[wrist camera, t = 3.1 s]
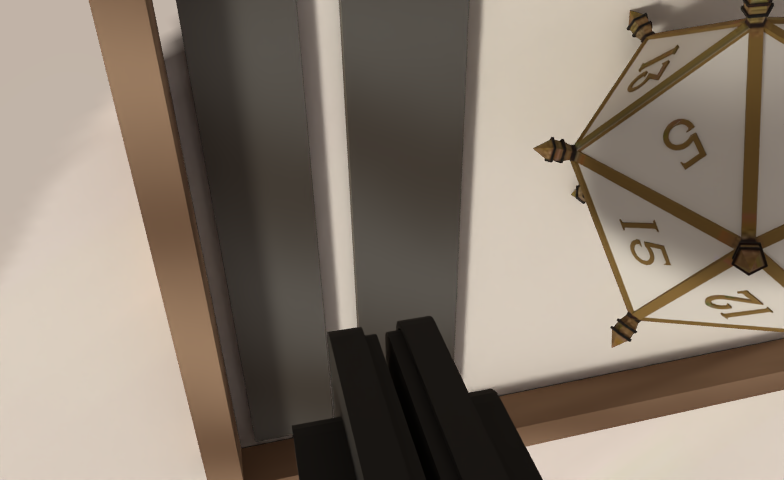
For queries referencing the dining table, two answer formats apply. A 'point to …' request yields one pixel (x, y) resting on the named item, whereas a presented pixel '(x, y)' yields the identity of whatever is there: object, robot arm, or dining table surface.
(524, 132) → the dining table surface
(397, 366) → the robot arm
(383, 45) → the shallow open box
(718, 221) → the game die
